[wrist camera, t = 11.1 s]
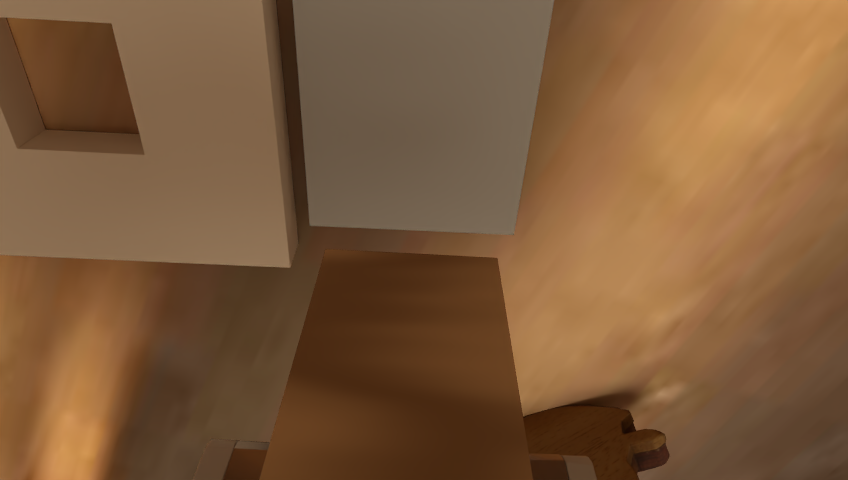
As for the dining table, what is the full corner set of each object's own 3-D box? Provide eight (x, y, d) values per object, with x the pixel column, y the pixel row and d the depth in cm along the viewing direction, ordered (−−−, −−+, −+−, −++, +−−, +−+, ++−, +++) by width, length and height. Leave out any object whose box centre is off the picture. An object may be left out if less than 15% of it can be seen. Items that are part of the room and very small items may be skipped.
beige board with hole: (-31, 228, 33) (-61, 252, 31) (-233, -185, 22) (-301, -190, 20) (298, 243, 34) (289, 267, 32) (261, -153, 23) (245, -156, 21)
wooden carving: (462, 464, 47) (470, 592, 39) (437, 435, 45) (439, 564, 36) (653, 402, 42) (708, 532, 34) (635, 366, 40) (689, 495, 32)
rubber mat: (312, 216, 33) (309, 225, 32) (290, -96, 24) (285, -95, 23) (511, 225, 33) (513, 234, 32) (562, -79, 24) (567, -77, 23)
